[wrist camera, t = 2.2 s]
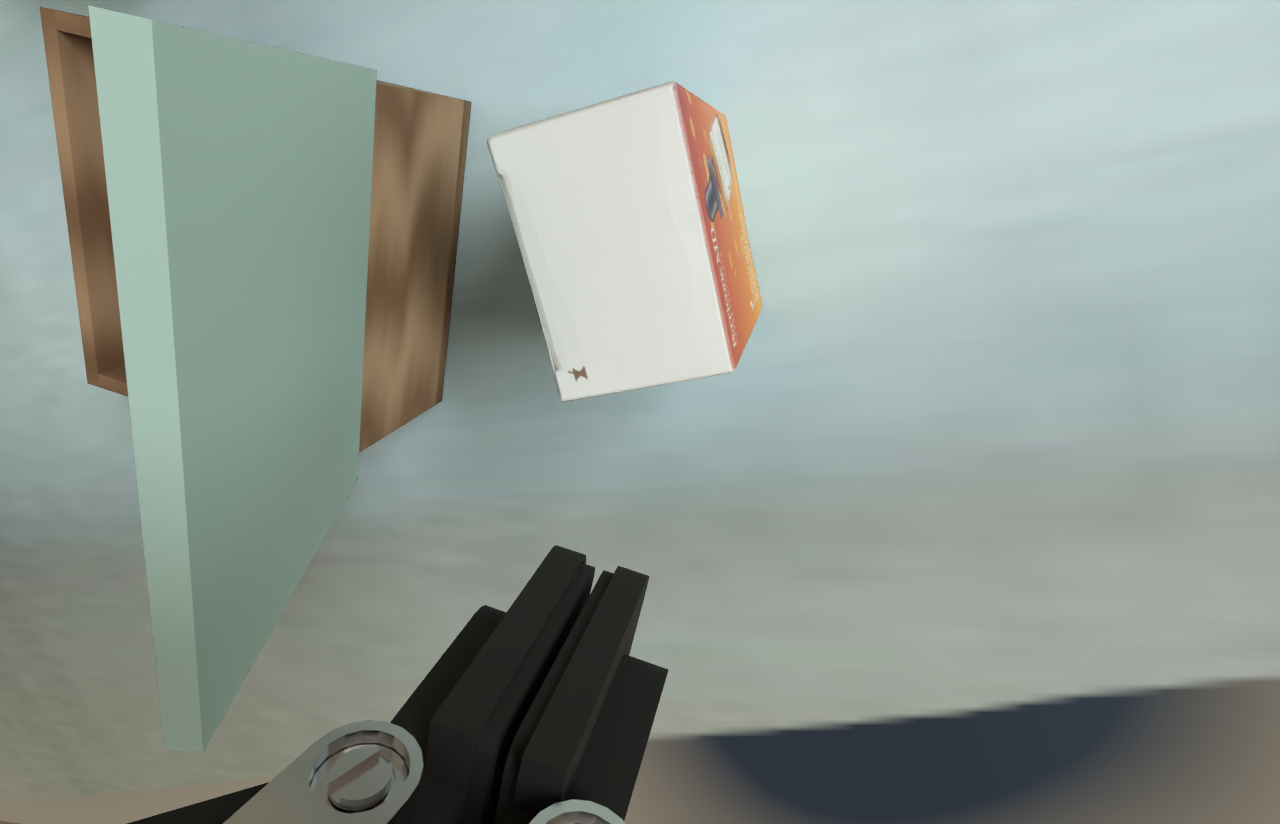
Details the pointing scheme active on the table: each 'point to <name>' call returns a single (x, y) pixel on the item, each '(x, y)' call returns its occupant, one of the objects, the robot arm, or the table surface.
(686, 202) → the small box
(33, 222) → the table surface
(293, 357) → the lid
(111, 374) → the brown wooden open box
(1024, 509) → the table surface
